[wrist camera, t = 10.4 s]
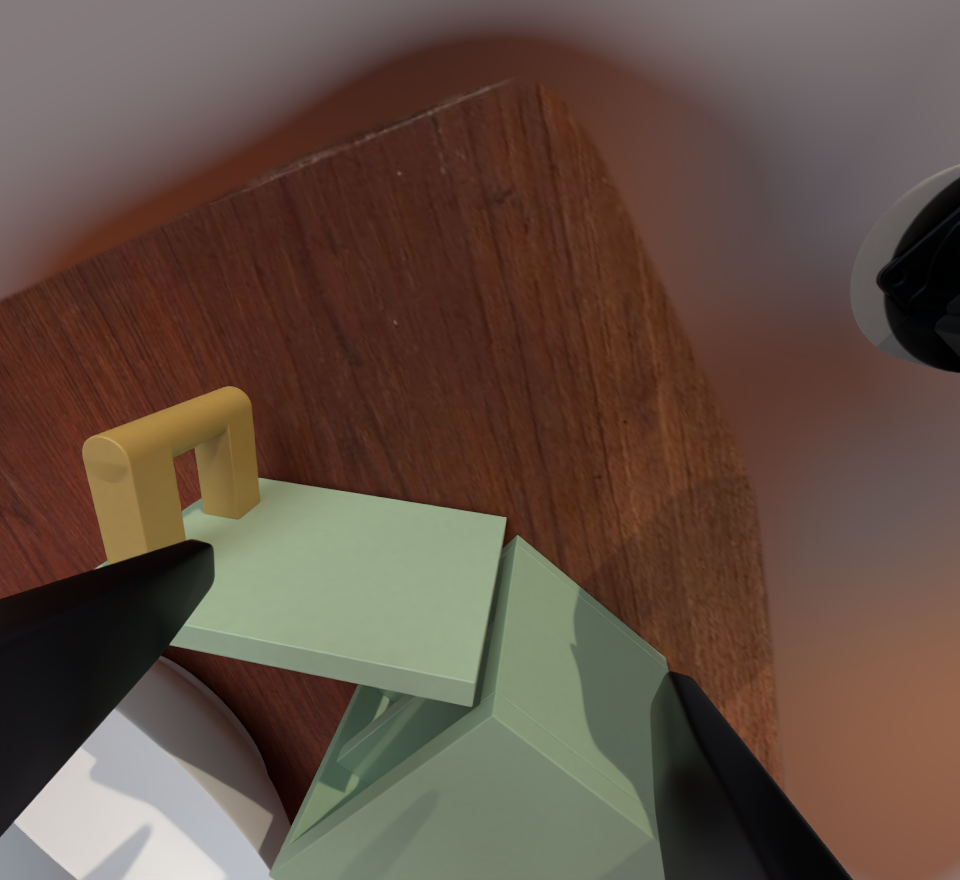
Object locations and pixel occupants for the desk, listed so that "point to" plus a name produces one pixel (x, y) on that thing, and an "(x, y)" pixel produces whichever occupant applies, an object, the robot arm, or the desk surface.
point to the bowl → (162, 792)
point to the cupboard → (498, 756)
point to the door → (302, 557)
